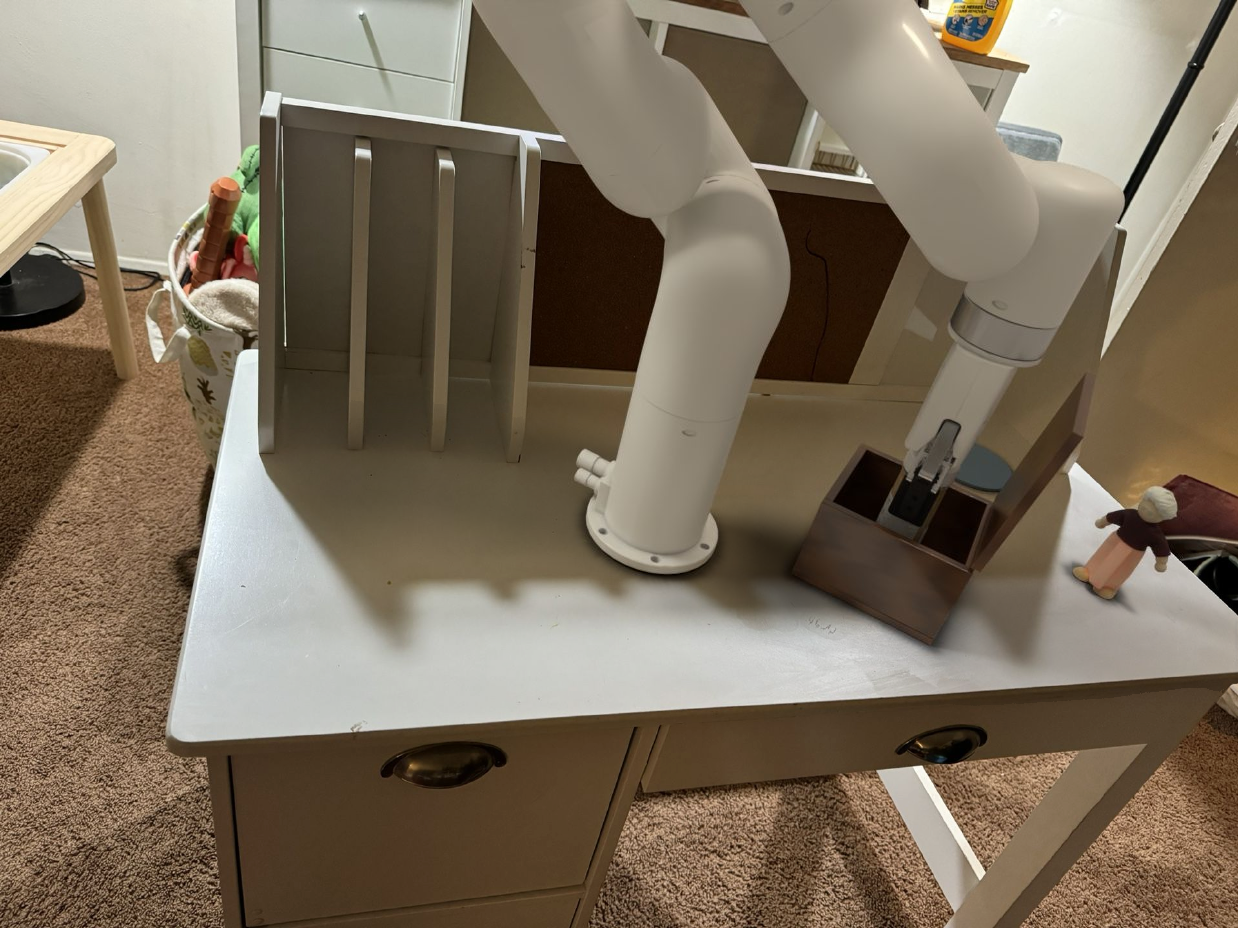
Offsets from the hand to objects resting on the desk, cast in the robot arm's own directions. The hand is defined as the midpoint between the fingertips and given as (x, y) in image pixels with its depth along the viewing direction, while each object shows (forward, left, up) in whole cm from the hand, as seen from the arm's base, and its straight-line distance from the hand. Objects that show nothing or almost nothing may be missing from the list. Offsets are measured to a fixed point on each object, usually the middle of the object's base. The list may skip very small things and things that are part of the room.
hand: (912, 502), depth 79 cm
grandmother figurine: (+20, +15, -9) cm, 27 cm away
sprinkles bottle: (0, 0, -8) cm, 8 cm away
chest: (0, 0, -9) cm, 9 cm away
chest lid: (+7, 0, +8) cm, 10 cm away
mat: (+4, +28, -9) cm, 30 cm away
